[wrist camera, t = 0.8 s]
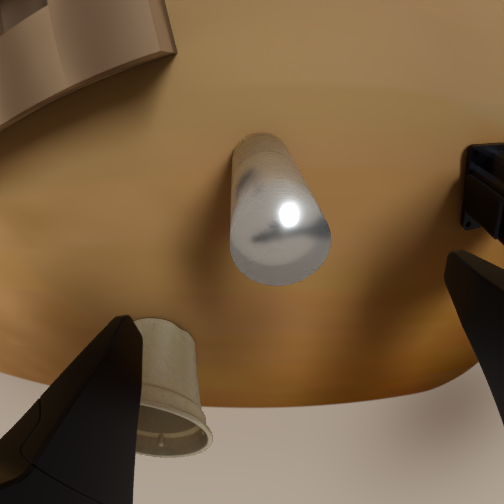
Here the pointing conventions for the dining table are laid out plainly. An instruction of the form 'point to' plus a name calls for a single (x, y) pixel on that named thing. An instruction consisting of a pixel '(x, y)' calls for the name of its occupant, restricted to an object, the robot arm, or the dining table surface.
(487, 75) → the dining table surface
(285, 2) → the dining table surface
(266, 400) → the dining table surface
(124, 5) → the bore block
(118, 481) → the robot arm
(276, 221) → the pin
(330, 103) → the dining table surface
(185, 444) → the flower pot
